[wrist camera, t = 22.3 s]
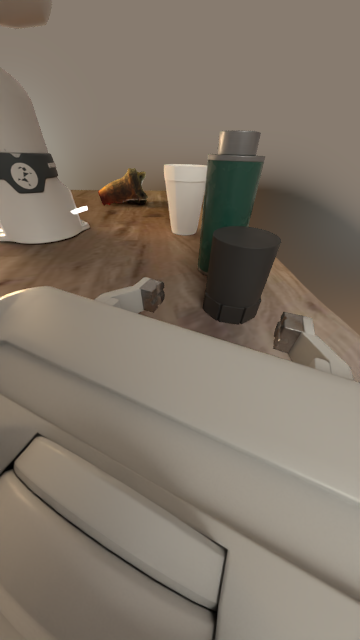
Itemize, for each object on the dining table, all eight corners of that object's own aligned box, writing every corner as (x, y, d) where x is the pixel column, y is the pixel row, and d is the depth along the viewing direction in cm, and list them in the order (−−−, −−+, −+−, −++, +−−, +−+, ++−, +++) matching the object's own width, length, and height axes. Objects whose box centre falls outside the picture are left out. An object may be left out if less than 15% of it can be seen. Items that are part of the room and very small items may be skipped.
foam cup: (206, 228, 51) (213, 165, 42) (197, 239, 44) (203, 167, 35) (172, 224, 53) (172, 163, 44) (159, 234, 46) (156, 165, 38)
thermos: (189, 265, 34) (198, 131, 23) (218, 257, 37) (238, 135, 25) (215, 282, 30) (242, 128, 18) (245, 271, 33) (284, 133, 21)
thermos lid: (193, 302, 26) (200, 231, 20) (228, 288, 29) (243, 223, 23) (228, 331, 22) (250, 253, 16) (265, 311, 25) (295, 239, 19)
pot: (92, 171, 68) (138, 151, 67) (109, 201, 78) (149, 185, 77) (95, 197, 60) (147, 175, 59) (113, 227, 70) (158, 209, 69)
